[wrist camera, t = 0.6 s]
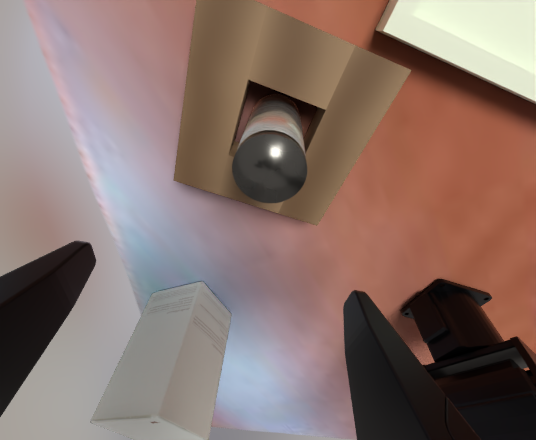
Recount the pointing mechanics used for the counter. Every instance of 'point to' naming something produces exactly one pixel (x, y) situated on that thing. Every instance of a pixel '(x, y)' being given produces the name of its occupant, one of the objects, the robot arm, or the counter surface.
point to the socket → (285, 81)
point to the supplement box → (169, 368)
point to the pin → (271, 152)
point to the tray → (472, 37)
